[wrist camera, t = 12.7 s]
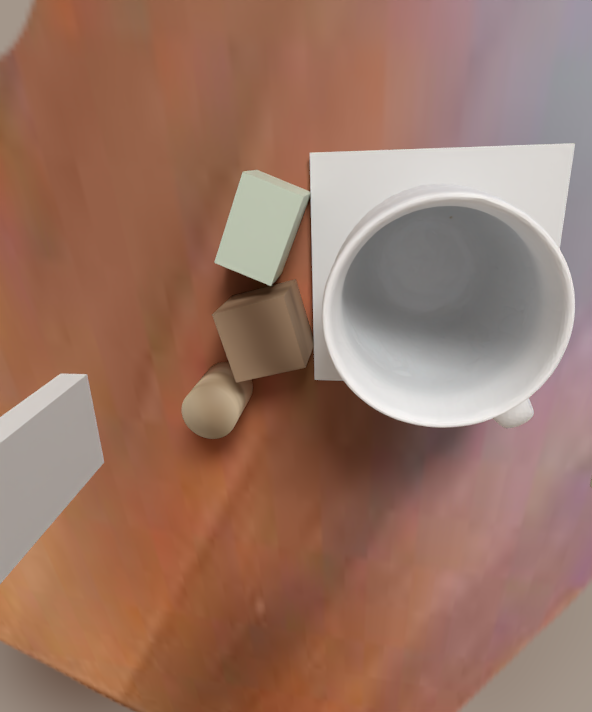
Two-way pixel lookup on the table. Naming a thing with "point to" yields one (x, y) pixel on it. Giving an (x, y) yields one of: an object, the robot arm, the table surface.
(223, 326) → the walnut block
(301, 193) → the sage block
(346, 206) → the pad
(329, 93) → the table surface
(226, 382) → the beech cylinder
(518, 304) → the mug
